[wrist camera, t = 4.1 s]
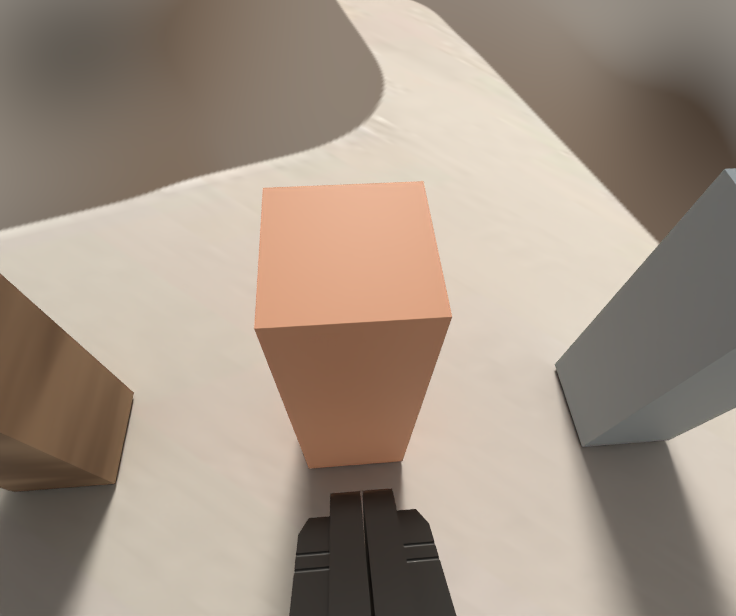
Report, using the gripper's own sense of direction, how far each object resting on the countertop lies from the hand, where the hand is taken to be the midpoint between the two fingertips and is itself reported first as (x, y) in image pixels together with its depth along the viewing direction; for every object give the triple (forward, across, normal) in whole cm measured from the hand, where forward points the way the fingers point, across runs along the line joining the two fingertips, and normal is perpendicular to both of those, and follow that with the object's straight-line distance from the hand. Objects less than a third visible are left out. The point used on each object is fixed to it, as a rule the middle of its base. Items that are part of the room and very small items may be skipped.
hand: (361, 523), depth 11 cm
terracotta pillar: (+9, 0, +2) cm, 9 cm away
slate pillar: (+9, -12, +2) cm, 15 cm away
